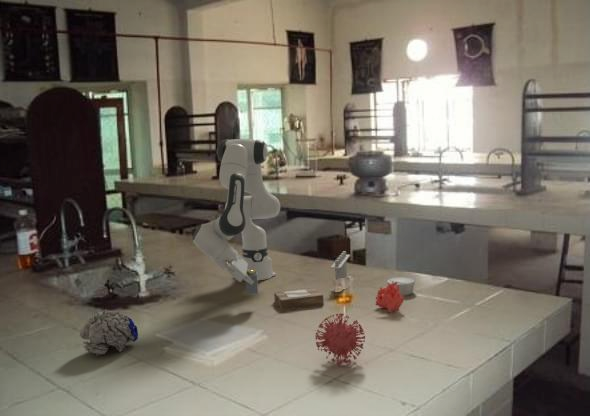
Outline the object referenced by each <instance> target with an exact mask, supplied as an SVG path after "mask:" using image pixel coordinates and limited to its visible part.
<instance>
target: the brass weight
mask: <svg viewBox="0 0 590 416" xmlns="http://www.w3.org/2000/svg"><path fill="white" fill-rule="evenodd" d="M248 275H255V270H248Z"/></svg>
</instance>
